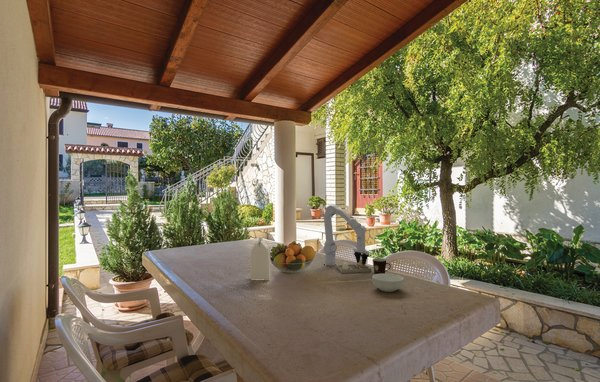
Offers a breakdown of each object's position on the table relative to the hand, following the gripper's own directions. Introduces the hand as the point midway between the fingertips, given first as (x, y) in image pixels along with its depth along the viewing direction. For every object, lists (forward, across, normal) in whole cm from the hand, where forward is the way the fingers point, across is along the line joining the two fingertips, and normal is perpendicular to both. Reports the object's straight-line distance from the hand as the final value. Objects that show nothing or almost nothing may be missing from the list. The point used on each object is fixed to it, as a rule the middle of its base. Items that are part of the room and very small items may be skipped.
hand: (361, 263), depth 227 cm
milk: (+4, -15, -67) cm, 69 cm away
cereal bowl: (+4, +44, -16) cm, 47 cm away
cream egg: (+3, +2, -15) cm, 15 cm away
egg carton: (+4, +1, -7) cm, 8 cm away
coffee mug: (+4, +19, 0) cm, 20 cm away
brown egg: (+3, 0, 0) cm, 3 cm away
